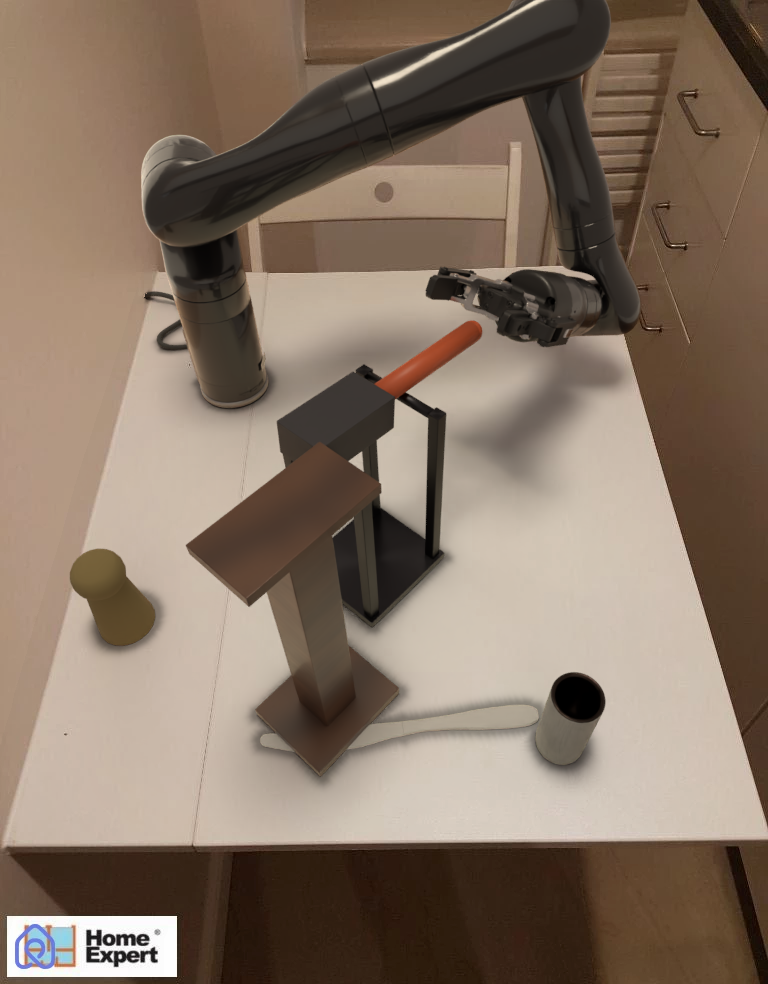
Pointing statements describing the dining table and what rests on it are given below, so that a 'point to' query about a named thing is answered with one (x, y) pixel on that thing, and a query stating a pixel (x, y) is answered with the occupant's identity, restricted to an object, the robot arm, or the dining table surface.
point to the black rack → (390, 531)
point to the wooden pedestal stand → (303, 599)
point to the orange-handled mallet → (365, 402)
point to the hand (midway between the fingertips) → (465, 304)
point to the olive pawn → (112, 597)
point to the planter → (569, 717)
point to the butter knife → (434, 725)
